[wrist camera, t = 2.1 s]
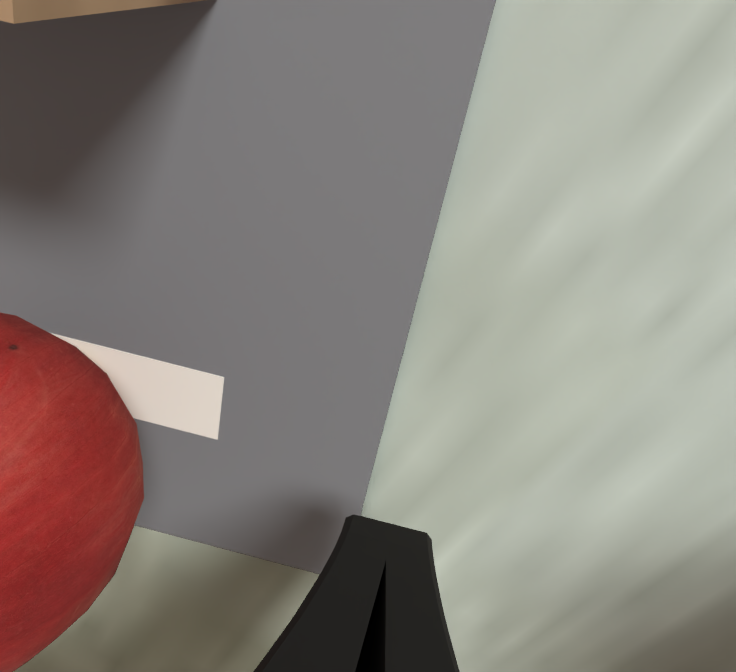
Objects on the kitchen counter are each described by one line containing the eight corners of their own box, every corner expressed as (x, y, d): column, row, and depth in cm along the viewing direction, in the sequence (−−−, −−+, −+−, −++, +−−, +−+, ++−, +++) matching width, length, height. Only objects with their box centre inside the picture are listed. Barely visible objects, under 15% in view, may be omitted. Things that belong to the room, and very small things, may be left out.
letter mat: (658, -618, 7) (663, -634, 7) (344, 573, 16) (342, 581, 16) (-357, -817, 7) (-379, -837, 7) (-99, 457, 16) (-105, 462, 16)
